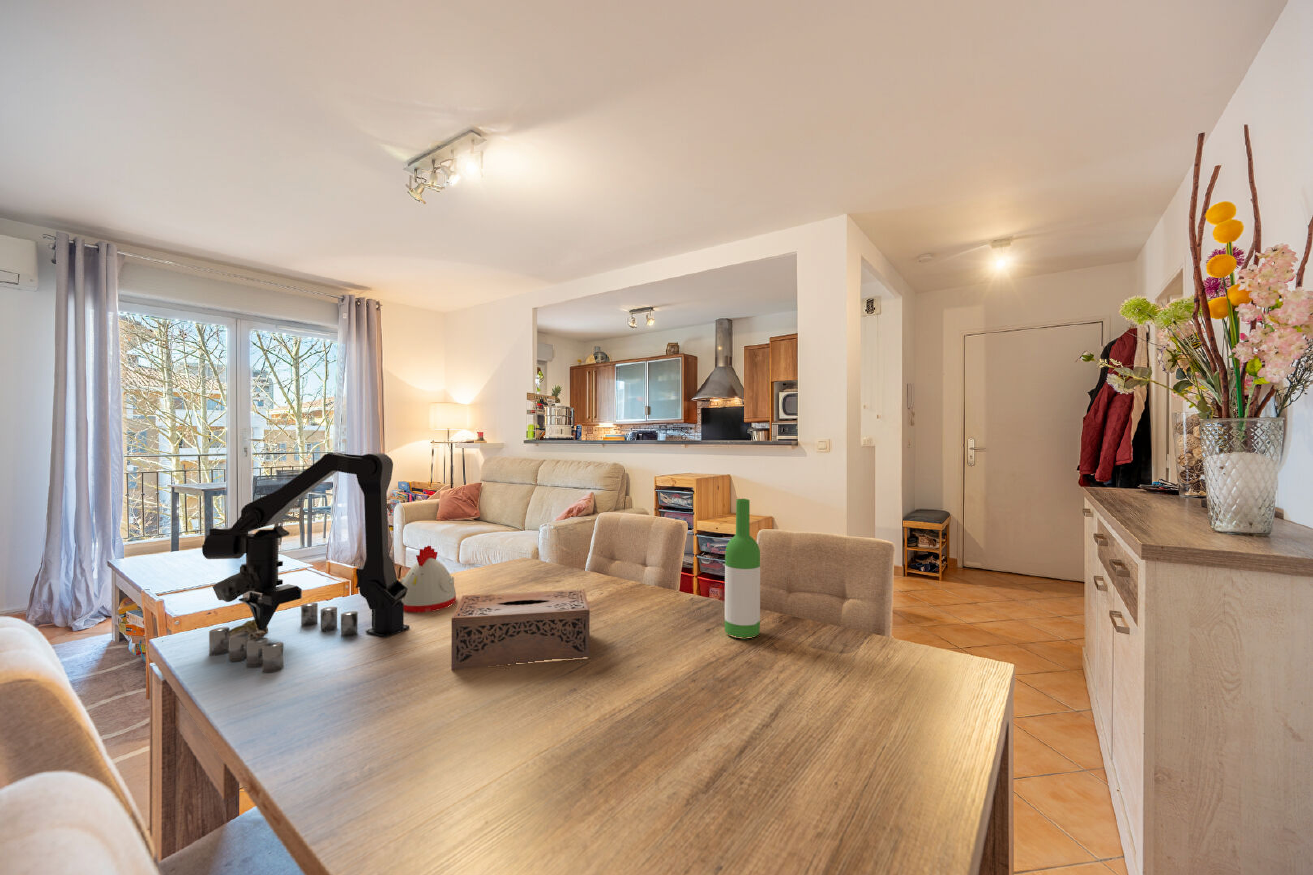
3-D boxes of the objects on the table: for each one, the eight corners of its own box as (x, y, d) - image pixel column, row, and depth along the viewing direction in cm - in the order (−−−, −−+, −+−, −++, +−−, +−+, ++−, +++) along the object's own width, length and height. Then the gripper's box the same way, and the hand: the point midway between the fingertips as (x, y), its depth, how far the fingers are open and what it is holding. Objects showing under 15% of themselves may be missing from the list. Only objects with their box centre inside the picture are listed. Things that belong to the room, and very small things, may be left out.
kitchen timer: (385, 610, 135) (385, 550, 135) (418, 594, 149) (418, 540, 149) (437, 614, 133) (437, 553, 133) (465, 597, 147) (465, 542, 147)
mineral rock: (237, 620, 122) (273, 610, 123) (243, 638, 123) (279, 628, 123) (201, 640, 112) (240, 629, 112) (207, 659, 112) (247, 648, 112)
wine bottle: (765, 632, 122) (766, 498, 121) (751, 643, 115) (752, 502, 115) (733, 625, 126) (734, 496, 126) (718, 636, 119) (719, 500, 119)
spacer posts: (373, 635, 119) (373, 615, 118) (268, 674, 99) (268, 649, 99) (312, 620, 128) (312, 601, 128) (205, 653, 108) (205, 631, 108)
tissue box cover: (451, 671, 102) (451, 618, 102) (462, 642, 116) (462, 595, 116) (589, 660, 107) (589, 609, 107) (584, 633, 121) (584, 589, 121)
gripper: (194, 561, 115) (194, 634, 115) (246, 571, 107) (245, 650, 107) (252, 551, 125) (252, 618, 125) (303, 559, 117) (303, 632, 117)
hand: (262, 629), depth 118 cm, fingers closed
